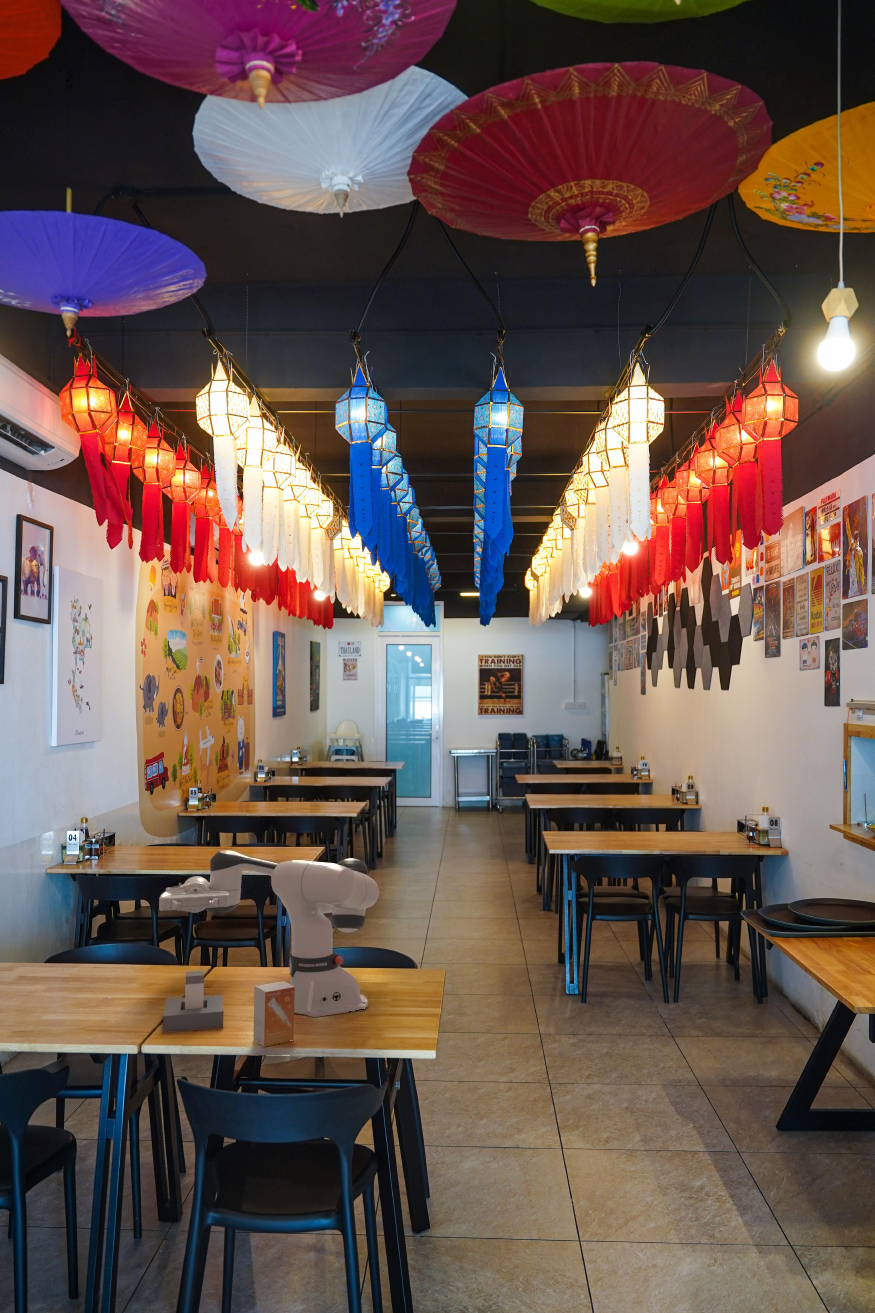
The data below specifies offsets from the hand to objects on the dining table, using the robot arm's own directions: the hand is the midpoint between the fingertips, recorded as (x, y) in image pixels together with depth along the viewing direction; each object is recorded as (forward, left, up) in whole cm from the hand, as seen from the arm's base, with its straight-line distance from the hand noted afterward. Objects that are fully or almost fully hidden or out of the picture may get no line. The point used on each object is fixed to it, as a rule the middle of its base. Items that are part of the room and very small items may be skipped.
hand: (194, 905), depth 253 cm
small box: (-20, +42, -25) cm, 53 cm away
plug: (-1, +22, -25) cm, 33 cm away
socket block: (-1, +22, -25) cm, 33 cm away
